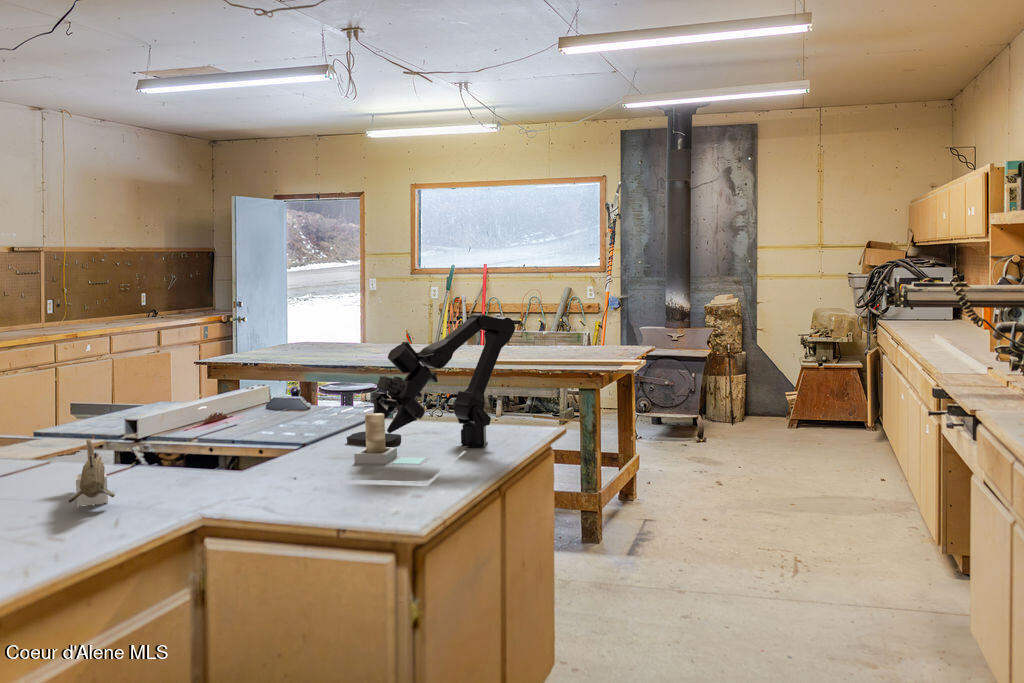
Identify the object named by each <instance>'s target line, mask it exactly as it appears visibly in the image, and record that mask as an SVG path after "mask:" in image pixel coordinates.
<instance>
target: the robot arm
mask: <svg viewBox="0 0 1024 683" xmlns="http://www.w3.org/2000/svg"><path fill="white" fill-rule="evenodd" d="M480 331H484V334H483V335H484V341H485V342H484V346H483V348H482V351H481V354H480V356H479V358H478V361H477V364H476V367H475V368H474V371H473V375H472V376H471V379H470V380H469V381H470V382H469V384H468V386H467V388H466V389H465V390H464V391H462V390H459V391H458V392H457V394H456V398H455V400H454V402H453V405H454V406H453V413H454V415H455V417H456V418H457V421H458V424H462V429H461V430H460V445H461V447H467V448H484V447H485V446H487V445H488V443H489V441H487V426H490V424H491V421H492V417H491V416H490V415H489V414H488V413H487V412H486V411H485V405H486V400H485V391H486V389H487V387H488V384H489V381H490V379H491V377H492V374H493V372H494V369H495V366H496V364H497V361H498V358H499V356H500V353H501V350H502V349H503V348H504V347H505V346H506V344H508V343H509V342H510V341H511V338H512V337H513V335H514V333H515V331H516V325H515V322H514V320H513V319H512V318H510V317H506V316H505V317H501V316H499V317H498V316H489V315H486V314H484V313H473V314H471V315H470V316H469V318H468V319H466V320H465V321H464V322H463V323H462V324H460V325H459V326H458V327H457V328H455V329H453V330H452V331H451V332H450V333H448V335H447V336H445V337H444V338H442V339H441V340H438V341H435V342H433V343H431V344H429V345H427V346H425V347H424V348H422V349H421V350H420V351H418V352H416V351H415V349H414V348H413V347H412V346H411V344H410V343H409V342H408V341H402V342H401V344H399V345H396V346H395V347H394V348H393V349H391V350H390V352H388V355H387V359H388V360H389V362H390V363H392V365H393V366H394V367H395V368H396V369H397V370H398V371H399V372H400V373H401V374H406V375H405V377H404V378H403V377H399V376H394V377H393V378H392V377H388V376H381V375H380V376H379V379H378V382H377V384H376V388H377V389H380V390H384V391H385V392H379V391H378V392H377V391H376V392H373V394H372V395H371V396H370V399H371V400H372V401H371V402H372V404H373V411H372V413H382V414H384V418H385V419H387V418H388V417H389V416H391V413H392V412H394V411H395V409H397V412H396V414H395V416H394V418H393V419H392V421H390V422H391V423H390V424H389V426H388V428H387V429H386V432H387V434H393V433H394V432H395V431H397V430H399V429H400V428H403V427H404V426H407V425H408V424H411V423H412V422H416V421H417V420H418V419H419V420H421V419H422V418H423V417H424V416H425V415H426V414H425V413H426V412H425V411H426V410H425V408H424V407H423V405H422V404H421V403H420V402H419V401H418V400H417V398H422V396H423V394H422V391H423V390H424V389H425V387H426V386H427V384H428V382H431V383H438V377H437V375H438V374H437V372H435V371H431V369H437V370H438V369H440V370H441V369H443V368H444V367H446V365H448V363H449V362H450V361H451V360H452V358H453V355H454V353H455V352H456V351H458V349H459V348H460V347H462V346H463V345H465V343H466V342H468V341H470V339H471V338H472V337H474V336H475V335H476V334H477V333H478V332H480ZM430 368H431V369H430ZM386 392H387V393H386Z"/></svg>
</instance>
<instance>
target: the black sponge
mask: <svg viewBox="0 0 1024 683" xmlns="http://www.w3.org/2000/svg"><path fill="white" fill-rule="evenodd" d="M345 439H346V444H347V445H353V446H364V447H366V430H364V431H360V432H359V431H358V432H355V433H352V434H350V435H348V436H346V438H345ZM401 444H402V435H401V434H398V433H388V432H387V433H386V432H385V447H395V446H400V445H401Z"/></svg>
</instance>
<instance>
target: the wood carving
mask: <svg viewBox="0 0 1024 683" xmlns="http://www.w3.org/2000/svg"><path fill="white" fill-rule="evenodd" d="M85 440H86V441H85V442H86V450H87V451H86V452H87V461H86V462H85V463H84V464H83V466H82V469H81V470H82V471H81V473H80V474H75V489H76V494H75V495H73V496H72V497H71V498H69V499H68V502H69V503H72V502H74V501H75V500H76V506H83V505H93V504H101V505H104V504H103V503H108V504H109V498H108V497H111V498H115V496H116V494H115V493H114V492H113V491H110V490H108V479H107V478H108V476H107V471H105V469H106V467H105V464H104V462H103V460H102V459H103V458H102V456H99V453H98V452H95V447H94V444H93V442H92V439H90V438H87V439H85ZM93 506H94V505H93Z"/></svg>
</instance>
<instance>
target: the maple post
mask: <svg viewBox="0 0 1024 683" xmlns="http://www.w3.org/2000/svg"><path fill="white" fill-rule="evenodd" d="M364 420H365V422H364V424H365V425H364V426H365V431H366V446H365V447H366V453H385V452H386V449H385V433H386V427H385V426H386V425H385V423H386V422H385V420H386V418H384V414H382V413H373V412H372V413H367V414H364Z"/></svg>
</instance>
